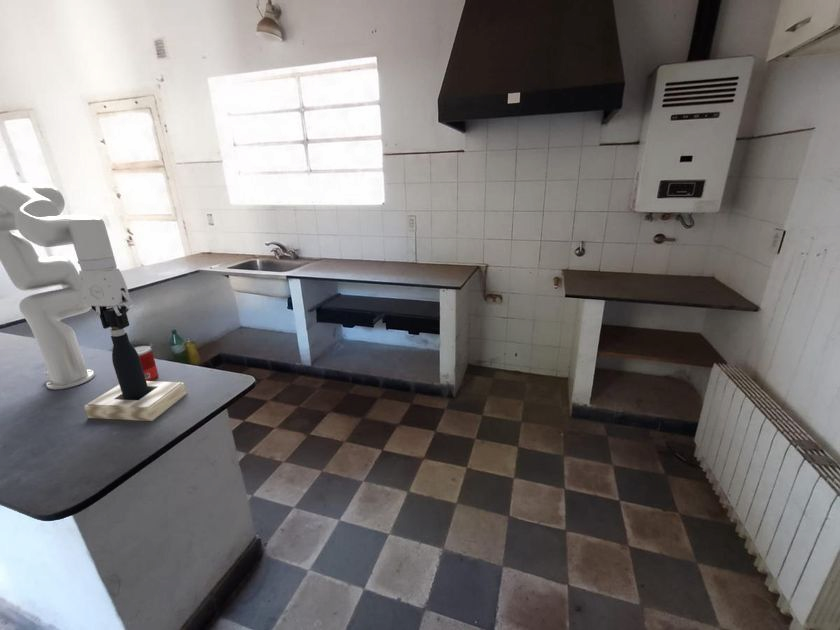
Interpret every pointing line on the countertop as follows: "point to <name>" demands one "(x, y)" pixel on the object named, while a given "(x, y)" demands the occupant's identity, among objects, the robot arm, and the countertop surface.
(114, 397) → the holder block
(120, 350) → the black water bottle
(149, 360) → the canned food
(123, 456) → the countertop surface
